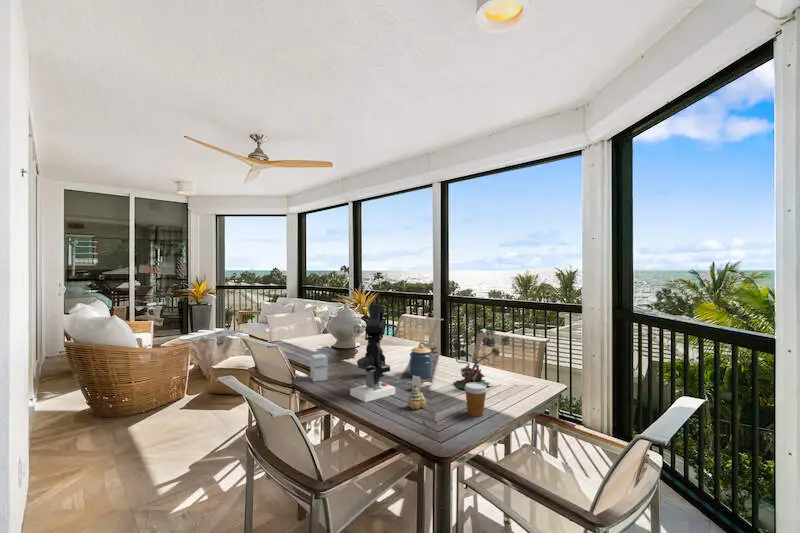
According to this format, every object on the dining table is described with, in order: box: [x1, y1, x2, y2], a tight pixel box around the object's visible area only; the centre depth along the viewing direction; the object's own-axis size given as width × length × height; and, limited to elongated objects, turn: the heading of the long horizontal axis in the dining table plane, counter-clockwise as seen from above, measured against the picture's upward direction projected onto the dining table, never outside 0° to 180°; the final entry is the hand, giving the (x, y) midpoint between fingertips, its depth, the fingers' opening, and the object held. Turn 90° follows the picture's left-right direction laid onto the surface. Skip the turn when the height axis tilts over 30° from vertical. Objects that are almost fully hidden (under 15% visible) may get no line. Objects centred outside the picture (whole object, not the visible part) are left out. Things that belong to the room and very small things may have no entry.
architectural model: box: [411, 376, 427, 392], centre depth 194 cm, size 3×7×7 cm, turn 41°
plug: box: [365, 370, 381, 388], centre depth 187 cm, size 5×4×7 cm
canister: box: [408, 343, 434, 379], centre depth 219 cm, size 13×13×18 cm
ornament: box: [406, 385, 427, 410], centre depth 171 cm, size 8×6×10 cm
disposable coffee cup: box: [463, 382, 488, 417], centre depth 165 cm, size 10×10×12 cm
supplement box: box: [310, 353, 329, 382], centre depth 209 cm, size 7×7×13 cm
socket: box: [349, 381, 396, 403], centre depth 187 cm, size 18×12×4 cm, turn 132°
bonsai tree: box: [452, 325, 511, 390], centre depth 201 cm, size 35×24×32 cm
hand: (373, 383), depth 187 cm, fingers closed on plug, 4 cm apart
